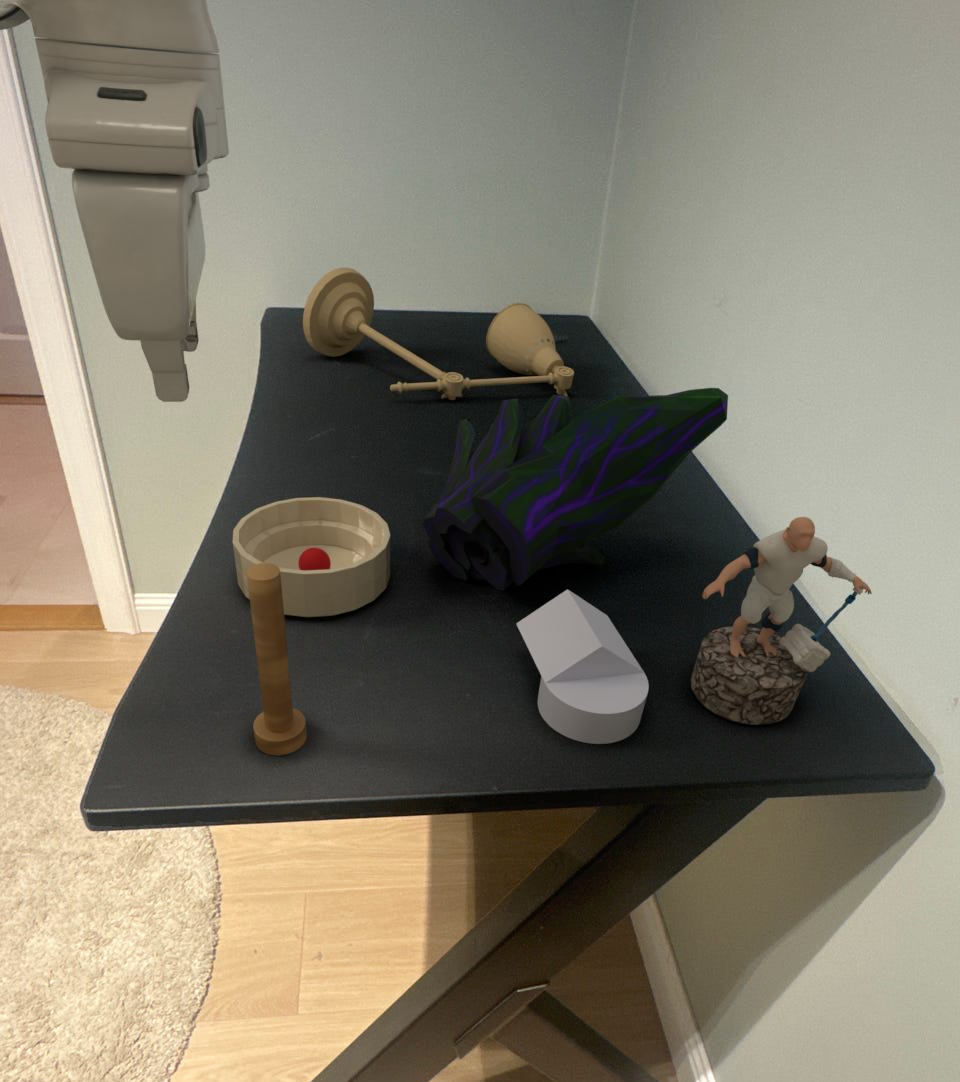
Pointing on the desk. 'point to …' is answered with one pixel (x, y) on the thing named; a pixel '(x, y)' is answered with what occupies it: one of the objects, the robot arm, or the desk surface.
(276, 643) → the wooden pestle
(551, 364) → the desk lamp
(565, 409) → the decorative plant
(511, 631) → the desk surface
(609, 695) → the wedge on round base
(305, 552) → the berry
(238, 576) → the bowl
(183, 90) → the robot arm
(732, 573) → the figurine
